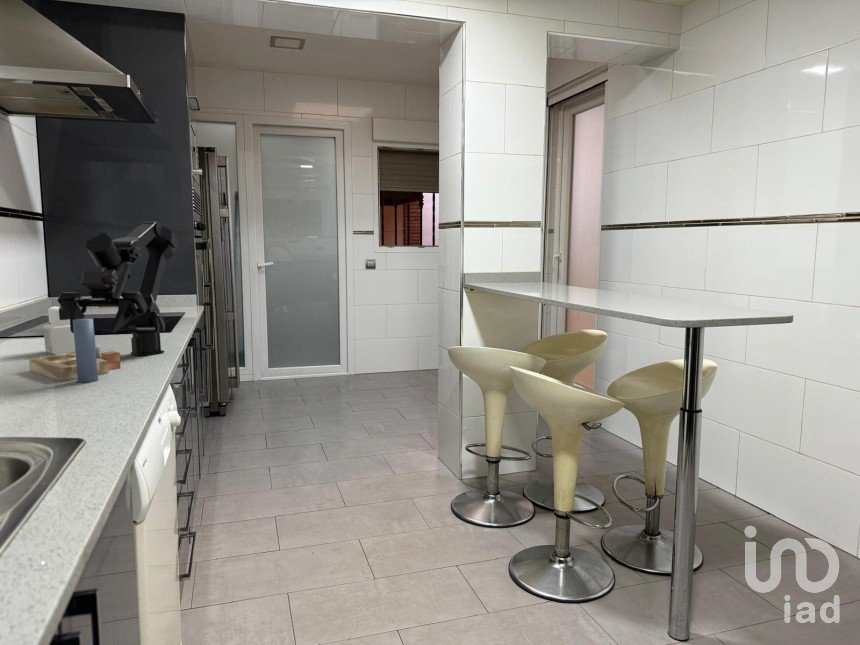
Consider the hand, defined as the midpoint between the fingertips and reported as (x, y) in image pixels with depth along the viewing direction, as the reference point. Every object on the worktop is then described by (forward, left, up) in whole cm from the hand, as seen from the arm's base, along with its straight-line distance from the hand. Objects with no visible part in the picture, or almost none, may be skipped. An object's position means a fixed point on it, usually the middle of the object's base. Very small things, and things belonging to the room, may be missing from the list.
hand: (92, 331), depth 140 cm
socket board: (-1, -11, -11) cm, 15 cm away
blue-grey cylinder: (+3, +2, -11) cm, 11 cm away
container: (-10, -39, -11) cm, 42 cm away
